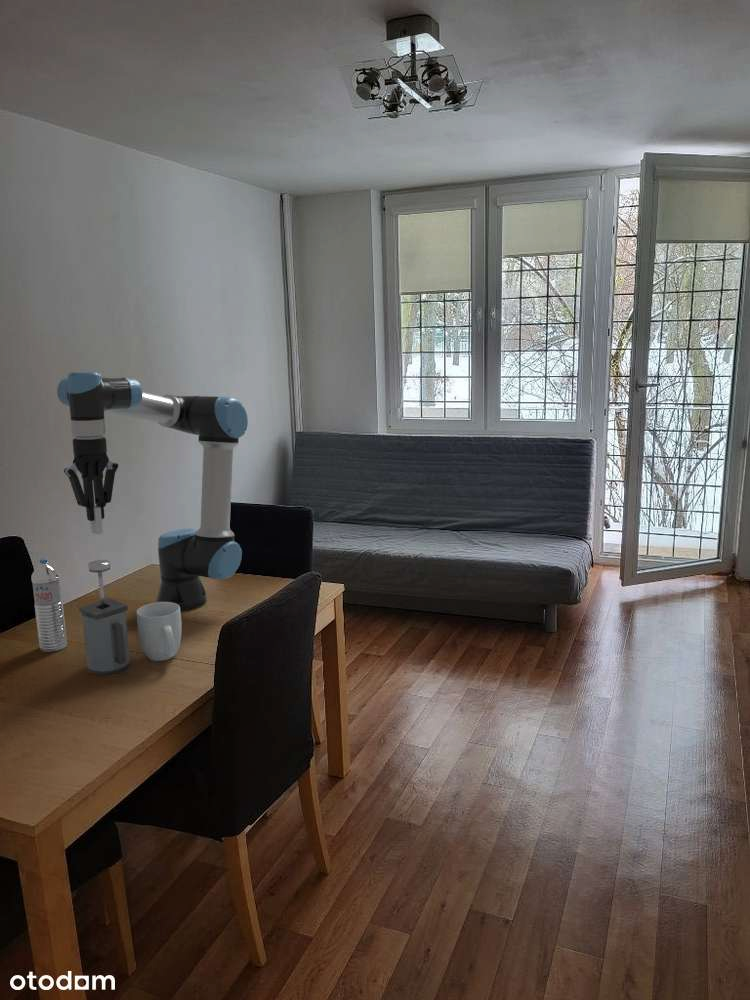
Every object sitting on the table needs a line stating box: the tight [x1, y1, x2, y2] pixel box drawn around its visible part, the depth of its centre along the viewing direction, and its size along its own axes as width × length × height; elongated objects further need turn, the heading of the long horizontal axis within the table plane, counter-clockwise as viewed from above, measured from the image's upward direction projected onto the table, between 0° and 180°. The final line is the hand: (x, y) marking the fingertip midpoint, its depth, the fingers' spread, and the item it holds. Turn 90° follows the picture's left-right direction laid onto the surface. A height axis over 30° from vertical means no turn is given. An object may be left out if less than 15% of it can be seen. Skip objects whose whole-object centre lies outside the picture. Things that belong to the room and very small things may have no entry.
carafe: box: [78, 597, 131, 676], centre depth 185 cm, size 10×12×16 cm
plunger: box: [87, 559, 111, 609], centre depth 183 cm, size 6×6×16 cm
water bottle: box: [31, 557, 68, 653], centre depth 196 cm, size 7×7×25 cm
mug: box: [135, 601, 183, 662], centre depth 190 cm, size 15×11×13 cm
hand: (97, 532), depth 180 cm, fingers closed
